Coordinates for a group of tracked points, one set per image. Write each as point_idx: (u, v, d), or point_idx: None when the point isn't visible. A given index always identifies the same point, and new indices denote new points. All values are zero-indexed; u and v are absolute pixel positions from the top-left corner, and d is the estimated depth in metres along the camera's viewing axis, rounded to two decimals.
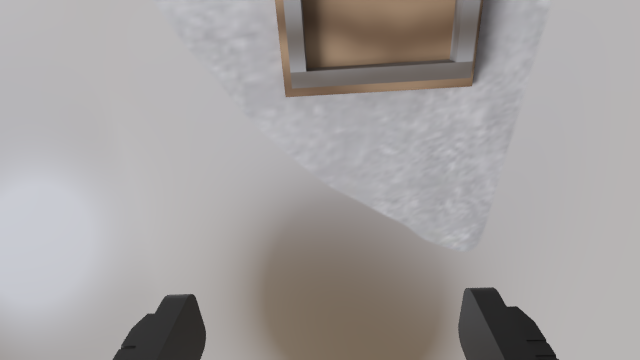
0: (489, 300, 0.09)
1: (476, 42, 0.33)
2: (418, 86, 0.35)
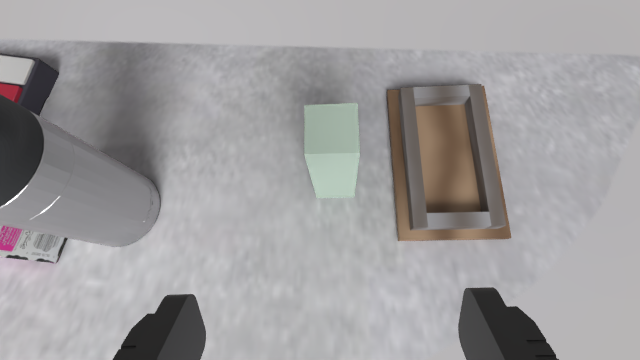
0: (489, 300, 0.09)
1: None
2: (488, 124, 0.41)
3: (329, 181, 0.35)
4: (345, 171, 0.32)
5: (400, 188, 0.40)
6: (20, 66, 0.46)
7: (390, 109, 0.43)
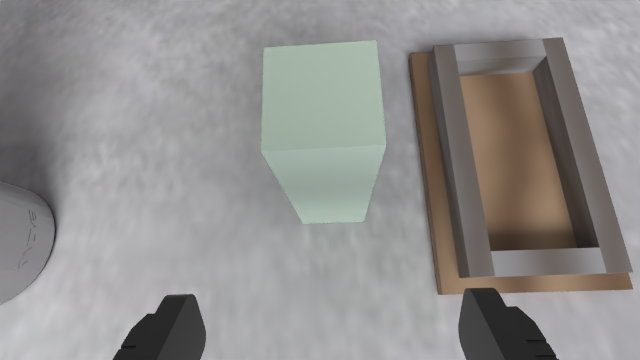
0: (489, 300, 0.09)
1: None
2: None
3: (322, 200, 0.19)
4: (352, 183, 0.16)
5: (439, 206, 0.24)
6: None
7: (416, 82, 0.28)
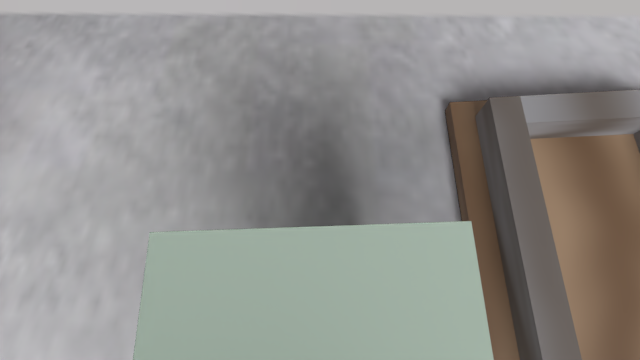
0: None
1: None
2: None
3: None
4: None
5: (503, 357, 0.15)
6: None
7: (460, 147, 0.19)
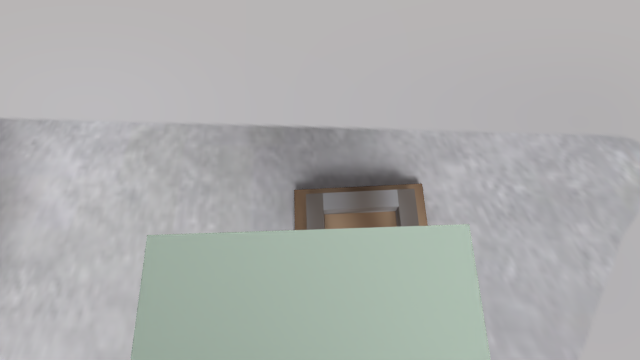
0: None
1: (377, 187, 0.32)
2: None
3: None
4: None
5: None
6: None
7: (296, 218, 0.32)
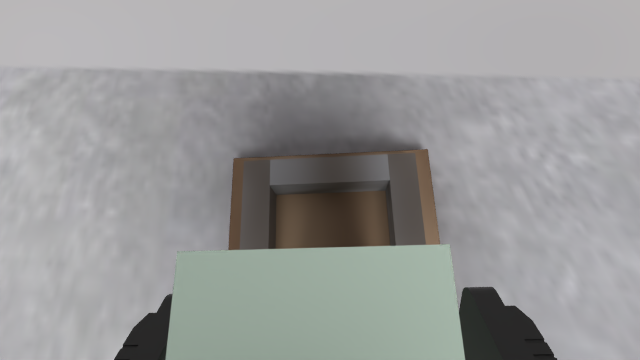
0: (487, 299, 0.09)
1: (359, 154, 0.21)
2: (433, 237, 0.19)
3: None
4: None
5: None
6: None
7: (233, 201, 0.21)
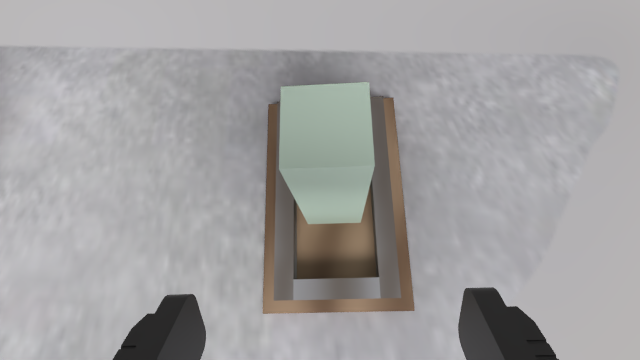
0: (489, 300, 0.09)
1: None
2: (395, 149, 0.31)
3: (325, 205, 0.23)
4: (349, 192, 0.20)
5: (271, 239, 0.29)
6: None
7: (269, 130, 0.33)
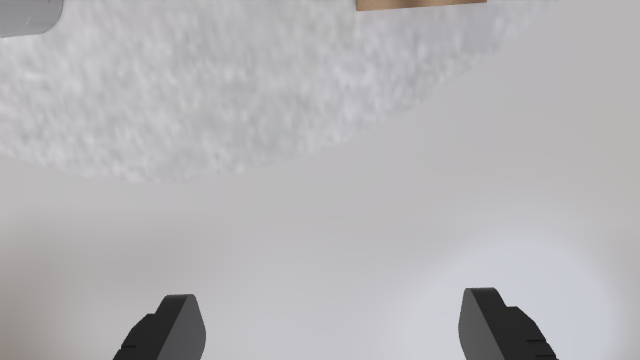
0: (489, 300, 0.09)
1: None
2: None
3: None
4: None
5: None
6: None
7: None
